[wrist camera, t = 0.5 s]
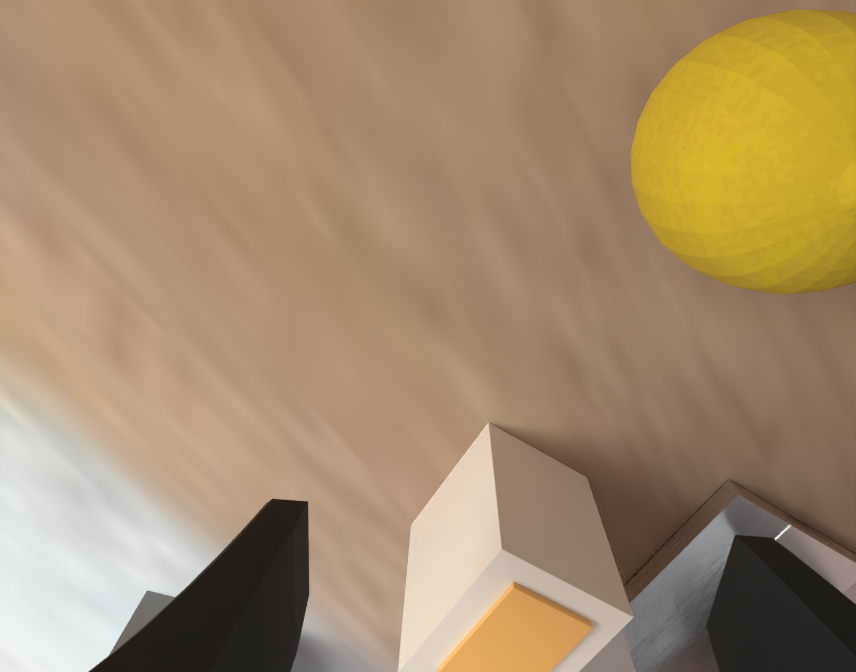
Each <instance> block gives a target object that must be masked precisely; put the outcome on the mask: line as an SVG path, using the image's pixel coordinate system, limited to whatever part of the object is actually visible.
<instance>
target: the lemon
mask: <svg viewBox="0 0 856 672" xmlns="http://www.w3.org/2000/svg"><path fill="white" fill-rule="evenodd" d="M631 180H632V185H633V188H634V192H635V195H636V199H637V202H638V206H639V209H640V212H641V214H642V215H643V217H644V218H645V220H646V222H647V223H648V225H649V226H650V228H651V230H652V231H653V233H654V234H655V236H656V237H657V239H658V240H659V241H660V242H661V243H662V244H663V245H664V246H665V247H666V248H667V249H668V250H670V251H671V252H672V253H673V254H674V255H675V256H676V257H678V258H679V259H680V260H681V261H682V262H683V263H684V264H686V265H687V266H689V267H690V268H692V269H694V270H697V271H699V272H701V273H703V274H705V275H707V276H709V277H711V278H713V279H716V280H718V281H720V282H722V283H725V284H727V285H731V286H734V287H740V288H745V289H751V290H756V291H762V292H768V293H773V294H793V293H808V292H819V291H826V290H829V289H833V288H836V287H840V286H843V285H847V284H850V283H854V282H856V14H854V13H849V12H841V11H823V10H801V9H799V10H789V11H784V12H780V13H775V14H771V15H767V16H762V17H758V18H753V19H749V20H745V21H743V22H741V23H738V24H736V25H734V26H732V27H730V28H728V29H726V30H724V31H722V32H720V33H718V34H716V35H714V36H712V37H710V38H708V39H706V40H704V41H703V42H702V43H700V44H699V45H698V46H696V47H695V48H694V49H693V50H692V51H690V52H689V53H688V54H687V55H685V56H684V57H683V58H682V59H681V60H679V61H678V62H677V63H676V64H675V65H673V66H672V68H671V69H670V70H669V72H668V73H667V74H666V75H665V77H664V78H663V79H662V80H661V82H660V83H659V84H658V86H657V87H656V88H655V89H654V91H653V92H652V93H651V95H650V97H649V99H648V101H647V103H646V106H645V108H644V110H643V112H642V114H641V116H640V118H639V120H638V122H637V127H636V131H635V135H634V140H633V144H632V149H631Z"/></svg>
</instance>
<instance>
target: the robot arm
mask: <svg viewBox="0 0 856 672" xmlns="http://www.w3.org/2000/svg"><path fill="white" fill-rule="evenodd" d="M308 597H309V540H308V502H307V501H294V500H281V499H272V500H270V501H269V502H268V503H266V504H265V506H264V507H263V508H262V509H261V510H260V511H259V512H258V513H257V514H256V516H255V517H254V518H253V519H252V520H251V521H250V522H249V523H248V524H247V526H246V527H245V528H244V529H243V530H242V531H241V532H240V533H239V534H238V535H237V536H236V538H235V539H234V540H233V541H232V542H231V543H230V544H229V545H228V546H227V547H226V548H225V549H224V550H223V551H222V552H221V553H220V554H219V555H218V556H217V557H216V558H215V559H214V560H213V561H212V562H211V563H210V564H209V565H208V566H207V567H206V568H205V569H204V570H203V571H202V572H201V573H200V574H199V575H198V576H197V577H196V578H195V579H194V580H193V581H192V582H191V583H190V584H189V585H188V586H187V587H186V588H185V589H184V590H183V591H182V592H181V593H180V594H179V595H178V596H177V597H176V598H175V599H173V600H172V601H171V602H170V603H169V604H168V605H167V606H166V607H165V608H163V609H162V610H161V611H160V612H159V613H158V614H157V615H156V616H155V617H154V618H152V619H151V620H150V621H149V622H148V623H147V624H146V625H145V626H144V627H143V628H141V629H140V630H139V631H138V632H137V633H136V634H134V635H133V636H132V637H131V638H130V639H129V640H127V641H126V642H125V643H124V644H123V645H121V646H120V647H119V648H118V649H117V650H115V651H114V652H113V653H112V654H110V655H109V656H108V657H107V658H106V659H104V660H103V661H102V662H100V663H99V664H98V665H97V666H95V667H94V668H93V669H92V670H90V671H89V672H290V671H291V668H292V665H293V662H294V659H295V656H296V652H297V648H298V643H299V639H300V635H301V630H302V626H303V621H304V616H305V611H306V607H307V602H308ZM706 627H707V631H708V634H709V638H710V641H711V645H712V648H713V652H714V655H715V659H716V662H717V665H718V668H719V671H720V672H856V604H855V603H854V602H852V601H851V600H850V599H849V598H848V597H846V596H845V595H844V594H843V593H841V592H840V591H839V590H838V589H836V588H835V587H834V586H833V585H832V584H830V583H829V582H828V581H827V580H825V579H824V578H823V577H822V576H820V575H819V574H818V573H817V572H816V571H814V570H813V569H812V568H811V567H809V566H808V565H807V564H806V563H804V562H803V561H802V560H801V559H799V558H798V557H797V556H795V555H794V554H793V553H792V552H790V551H789V550H788V549H786V548H785V547H784V546H782V545H781V544H780V543H778V542H777V541H776V540H774V539H773V538H770V537H758V536H745V535H735V536H734V539H733V542H732V545H731V549H730V552H729V555H728V558H727V561H726V564H725V567H724V571H723V574H722V577H721V580H720V583H719V586H718V589H717V592H716V596H715V599H714V602H713V605H712V608H711V611H710V614H709V618H708V621H707V624H706Z"/></svg>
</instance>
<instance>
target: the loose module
mask: <svg viewBox="0 0 856 672" xmlns="http://www.w3.org/2000/svg"><path fill="white" fill-rule="evenodd" d="M633 618H634V617H633V614H632V611H631V608H630V605H629V602H628V599H627V596H626V593H625V590H624V587H623V584H622V581H621V578H620V575H619V572H618V569H617V566H616V563H615V560H614V557H613V554H612V551H611V548H610V545H609V542H608V539H607V536H606V533H605V530H604V527H603V524H602V521H601V518H600V515H599V512H598V509H597V506H596V503H595V500H594V497H593V494H592V491H591V488H590V485H589V482H588V479H587V477H585V476H584V475H582V474H580V473H578V472H576V471H575V470H573V469H571V468H569V467H567V466H566V465H564V464H562V463H560V462H558V461H557V460H555V459H553V458H551V457H549V456H548V455H546V454H544V453H542V452H540V451H539V450H537V449H535V448H533V447H532V446H530V445H528V444H526V443H524V442H523V441H521V440H519V439H517V438H515V437H514V436H512V435H510V434H508V433H506V432H505V431H503V430H501V429H499V428H497V427H496V426H494V425H492V424H490V423H488V424H487V425H486V427H485V428H484V429H483V430H482V432H481V433H480V434H479V436H478V437H477V438H476V440H475V441H474V442H473V444H472V445H471V446H470V448H469V449H468V450H467V452H466V453H465V454H464V456H463V457H462V458H461V460H460V461H459V462H458V464H457V465H456V466H455V468H454V469H453V470H452V472H451V473H450V474H449V476H448V477H447V478H446V480H445V481H444V482H443V484H442V485H441V486H440V488H439V489H438V490H437V492H436V493H435V494H434V496H433V497H432V498H431V500H430V501H429V502H428V503H427V505H426V506H425V507H424V509H423V510H422V511H421V513H420V514H419V515H418V517H417V518H416V519H415V521H414V522H413V523H412V525H411V533H410V544H409V555H408V566H407V578H406V589H405V600H404V611H403V622H402V633H401V644H400V655H399V667H398V672H579V671H580V670H581V669H582V668H583V667H584V666H585V665H586V664H587V663H588V662H589V661H590V660H591V659H592V658H593V657H594V656H595V655H596V654H597V653H598V652H599V651H600V650H601V649H602V648H603V647H604V646H605V645H606V644H607V643H608V642H609V641H610V640H611V639H612V638H613V637H614V636H615V635H616V634H618V633H619V632H620V631H621V630H622V629H623V628H624V627H625V626H626V625H627V624H628V623H629V622H630V621H631V620H632V619H633Z"/></svg>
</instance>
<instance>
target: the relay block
mask: <svg viewBox="0 0 856 672" xmlns="http://www.w3.org/2000/svg"><path fill="white" fill-rule="evenodd" d="M175 598H176V597H171V596H167V595H163V594H159V593H155V592H151V591H147V592H146V593H145V595H144V597H143V598H142V600H141V602H140V604H139V605H138V607H137V609H136V610H135V612H134V614H133V615H132V617H131V619H130V621H129V622H128V624H127V626H126V627H125V629H124V631H123V632H122V634H121V636H120V638H119V639H118V641H117V643H116V644H115V646H114V648H113V650H112V651H111V653H110V654H112V653H113V652H114V651H115V650H117V649H118V648H119V647H120V646H121V645H123V644H124V643H125V642H126V641H127V640H129V639H130V638H131V637H132V636H133V635H134V634H136V633H137V632H138V631H139V630H140V629H141V628H143V627H144V626H145V625H146V624H147V623H148V622H149V621H150V620H151V619H152V618H154V617H155V616H156V615H157V614H158V613H159V612H160V611H161V610H162V609H163V608H165V607H166V606H167V605H168V604H169V603H170V602H171V601H172V600H173V599H175Z"/></svg>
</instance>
